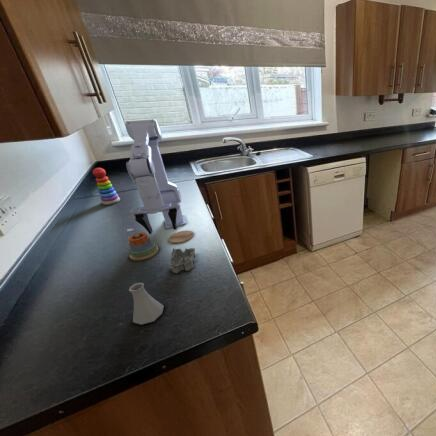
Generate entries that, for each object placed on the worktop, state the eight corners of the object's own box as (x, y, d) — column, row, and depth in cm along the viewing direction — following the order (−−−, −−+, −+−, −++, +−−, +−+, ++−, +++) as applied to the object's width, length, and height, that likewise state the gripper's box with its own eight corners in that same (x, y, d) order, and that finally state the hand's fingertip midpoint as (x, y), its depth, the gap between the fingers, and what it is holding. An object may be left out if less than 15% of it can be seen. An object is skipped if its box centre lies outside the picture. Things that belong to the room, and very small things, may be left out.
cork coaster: (168, 235, 111) (168, 234, 111) (192, 229, 115) (191, 228, 115) (170, 245, 104) (169, 244, 104) (195, 238, 108) (194, 238, 108)
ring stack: (130, 251, 101) (122, 233, 98) (158, 243, 105) (151, 226, 102) (129, 263, 94) (121, 245, 91) (159, 255, 98) (152, 237, 95)
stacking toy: (99, 206, 138) (83, 171, 129) (106, 200, 145) (91, 166, 136) (117, 204, 140) (102, 169, 131) (122, 198, 147) (109, 164, 138)
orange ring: (131, 240, 98) (129, 235, 97) (148, 236, 101) (146, 231, 100) (130, 247, 94) (128, 242, 93) (148, 242, 97) (146, 237, 96)
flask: (168, 304, 77) (157, 276, 72) (155, 324, 71) (142, 296, 66) (143, 305, 77) (130, 277, 72) (127, 325, 70) (112, 297, 66)
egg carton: (176, 256, 98) (172, 247, 96) (198, 253, 99) (195, 243, 97) (168, 275, 88) (164, 265, 86) (193, 270, 90) (190, 260, 88)
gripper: (121, 203, 83) (137, 240, 89) (173, 195, 87) (184, 231, 94) (127, 195, 89) (141, 230, 95) (176, 188, 93) (186, 222, 99)
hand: (163, 230), depth 95 cm, fingers open, 7 cm apart
